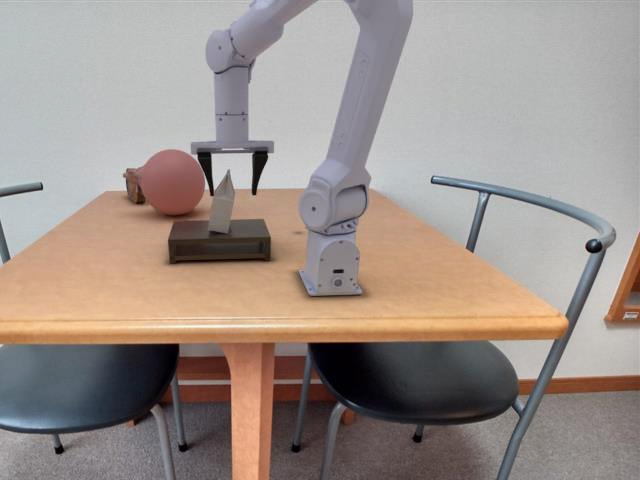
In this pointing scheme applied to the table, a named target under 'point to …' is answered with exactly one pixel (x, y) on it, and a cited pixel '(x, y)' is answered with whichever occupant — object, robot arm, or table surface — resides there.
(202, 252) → the dark brown low stand
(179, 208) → the balloon
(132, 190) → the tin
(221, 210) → the milk carton
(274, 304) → the table surface
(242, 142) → the robot arm
